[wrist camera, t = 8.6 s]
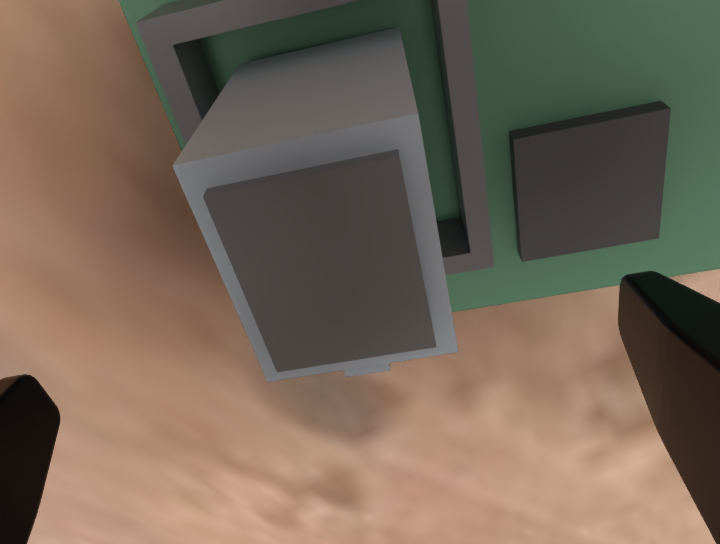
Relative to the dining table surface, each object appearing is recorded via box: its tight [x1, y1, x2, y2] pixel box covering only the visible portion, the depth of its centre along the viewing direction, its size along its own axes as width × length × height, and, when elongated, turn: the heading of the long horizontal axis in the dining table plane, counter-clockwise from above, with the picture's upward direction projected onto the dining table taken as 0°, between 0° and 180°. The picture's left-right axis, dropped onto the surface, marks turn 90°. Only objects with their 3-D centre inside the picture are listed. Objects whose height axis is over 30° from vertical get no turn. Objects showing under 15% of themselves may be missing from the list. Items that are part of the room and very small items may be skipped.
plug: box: [172, 27, 458, 382], centre depth 13 cm, size 4×6×6 cm
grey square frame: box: [135, 0, 494, 275], centre depth 15 cm, size 7×8×2 cm
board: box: [119, 0, 720, 312], centre depth 15 cm, size 16×15×3 cm
